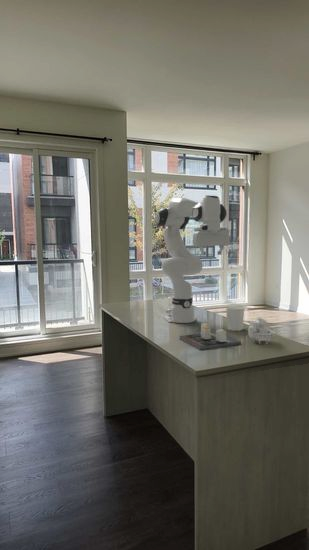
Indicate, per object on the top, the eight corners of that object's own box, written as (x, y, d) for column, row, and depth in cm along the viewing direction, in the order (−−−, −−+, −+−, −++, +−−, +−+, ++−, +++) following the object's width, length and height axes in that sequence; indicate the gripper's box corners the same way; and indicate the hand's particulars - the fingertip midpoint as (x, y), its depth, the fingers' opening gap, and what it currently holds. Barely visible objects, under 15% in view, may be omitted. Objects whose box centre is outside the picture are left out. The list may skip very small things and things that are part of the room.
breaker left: (200, 333, 178) (200, 323, 178) (206, 332, 180) (206, 322, 179) (205, 334, 175) (205, 325, 174) (210, 334, 176) (210, 324, 175)
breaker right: (216, 340, 166) (216, 329, 165) (221, 339, 167) (221, 328, 166) (220, 342, 162) (220, 331, 161) (226, 341, 163) (226, 330, 163)
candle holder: (230, 331, 189) (230, 309, 188) (223, 327, 199) (223, 306, 198) (247, 330, 191) (247, 308, 190) (239, 326, 200) (239, 305, 199)
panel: (179, 338, 175) (179, 335, 175) (217, 334, 184) (217, 331, 183) (199, 350, 157) (199, 346, 157) (241, 344, 165) (241, 340, 165)
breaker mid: (201, 337, 170) (201, 326, 170) (206, 336, 172) (206, 326, 171) (205, 339, 167) (205, 328, 166) (210, 338, 168) (210, 328, 167)
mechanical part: (272, 347, 161) (272, 321, 160) (245, 343, 166) (246, 318, 165) (276, 341, 170) (277, 316, 169) (251, 338, 176) (252, 314, 175)
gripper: (225, 228, 186) (225, 254, 187) (191, 227, 178) (191, 255, 179) (232, 227, 180) (232, 254, 181) (197, 226, 172) (197, 255, 173)
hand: (211, 254), depth 180 cm, fingers open, 8 cm apart
